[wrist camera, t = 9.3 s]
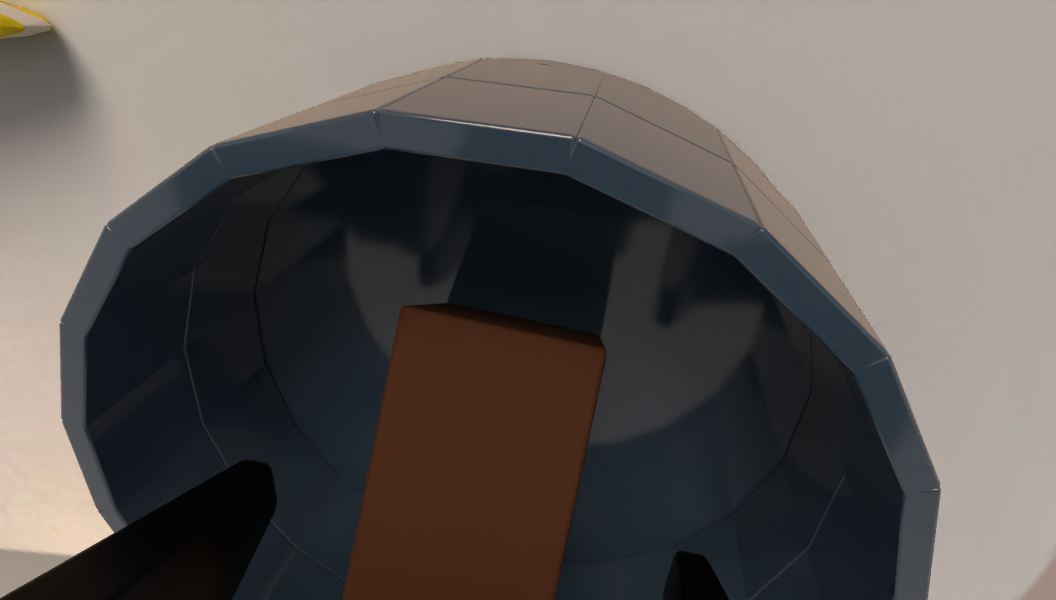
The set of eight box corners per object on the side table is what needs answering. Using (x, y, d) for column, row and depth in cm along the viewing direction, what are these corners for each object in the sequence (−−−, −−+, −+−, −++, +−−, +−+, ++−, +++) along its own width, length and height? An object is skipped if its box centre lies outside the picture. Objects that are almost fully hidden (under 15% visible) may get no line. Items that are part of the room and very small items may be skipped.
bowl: (938, 107, 9) (1197, 219, 5) (731, 594, 15) (765, 836, 11) (212, 19, 11) (-90, 46, 6) (289, 498, 17) (163, 680, 12)
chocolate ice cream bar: (601, 334, 12) (608, 349, 9) (512, 756, 12) (489, 913, 9) (445, 301, 12) (399, 303, 9) (361, 713, 12) (289, 852, 9)
